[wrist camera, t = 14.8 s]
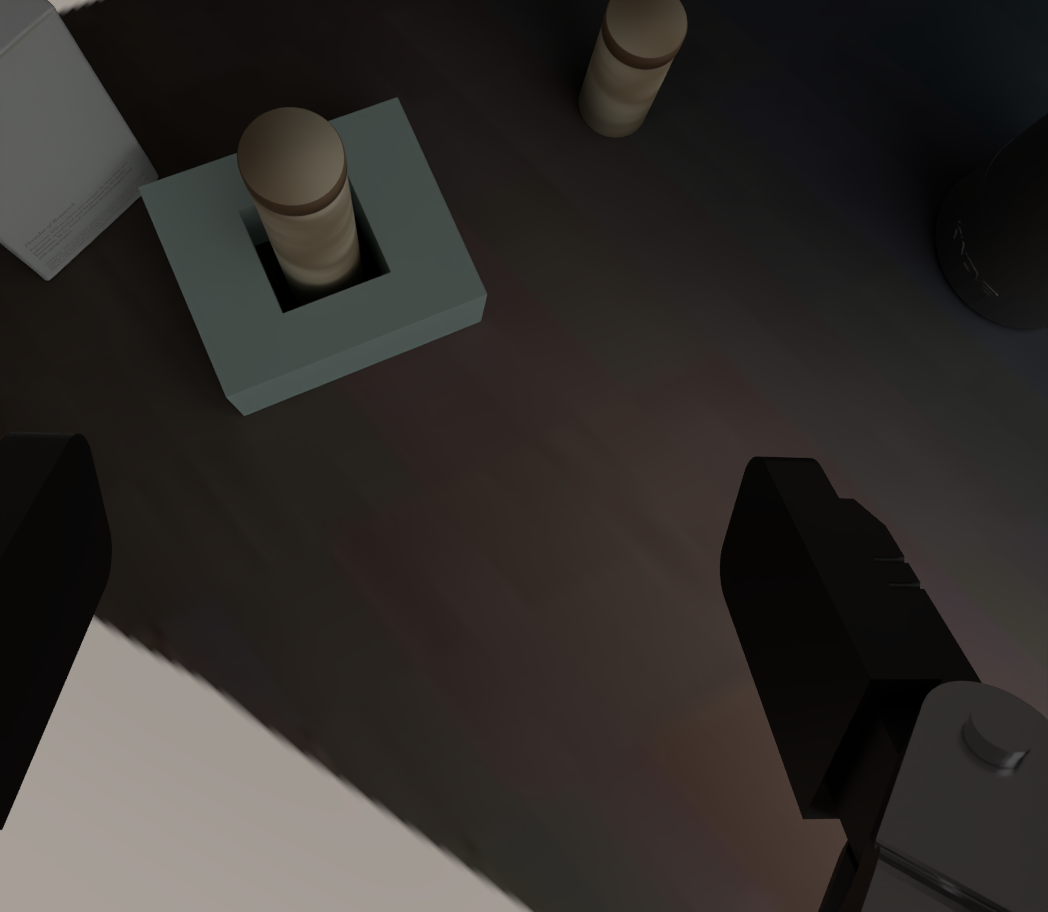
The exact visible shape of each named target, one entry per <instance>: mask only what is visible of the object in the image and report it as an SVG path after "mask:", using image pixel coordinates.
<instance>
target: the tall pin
mask: <svg viewBox="0 0 1048 912" xmlns="http://www.w3.org/2000/svg"><path fill="white" fill-rule="evenodd" d="M237 163H238V168H239V171H240V174H241V176H242V179H243V181H244V183H245V186H246V188H247V190H248V191H249V193H250V194H251V197H252V199H253V201H254V204H255V206H256V209H257V211H258V213H259V216H260V218H261V221H262V223H263V225H264V228H265V230H266V233H267V235H268V237H269V240H270V242H271V245H272V247H273V250H274V252H275V254H276V257H277V259H278V262H279V264H280V266H281V269H282V271H283V274H284V276H285V278H286V281H287V283H288V286H289V288H290V290H291V292H292V294H293V296H294V297H295V298H296V299H297V300H298V302H300V303H301V304H302V305H303V306H304V305H306V304H309V303H312V302H314V301H317V300H320V299H322V298H325V297H327V296H330V295H333V294H335V293H338V292H340V291H343V290H346V289H348V288H351V287H354V286H356V285H359V284H361V283H363V282H364V272H363V266H362V260H361V254H360V248H359V242H358V236H357V230H356V224H355V218H354V212H353V206H352V200H351V193H350V187H349V181H348V175H347V161H346V155H345V149H344V145H343V142H342V139H341V137H340V136H339V134H338V132H337V131H336V129H335V128H334V127H333V126H332V125H331V124H330V123H329V122H328V121H327V120H326V119H324V118H323V117H321V116H320V115H318V114H316V113H314V112H312V111H309V110H306V109H301V108H295V107H284V108H278V109H274V110H271V111H268V112H266V113H264V114H262V115H260V116H259V117H257V118H256V119H255V120H254V121H253V122H252V123H251V124H250V125H249V126H248V127H247V128H246V129H245V131H244V133H243V134H242V136H241V139H240V141H239V145H238V149H237Z"/></svg>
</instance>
